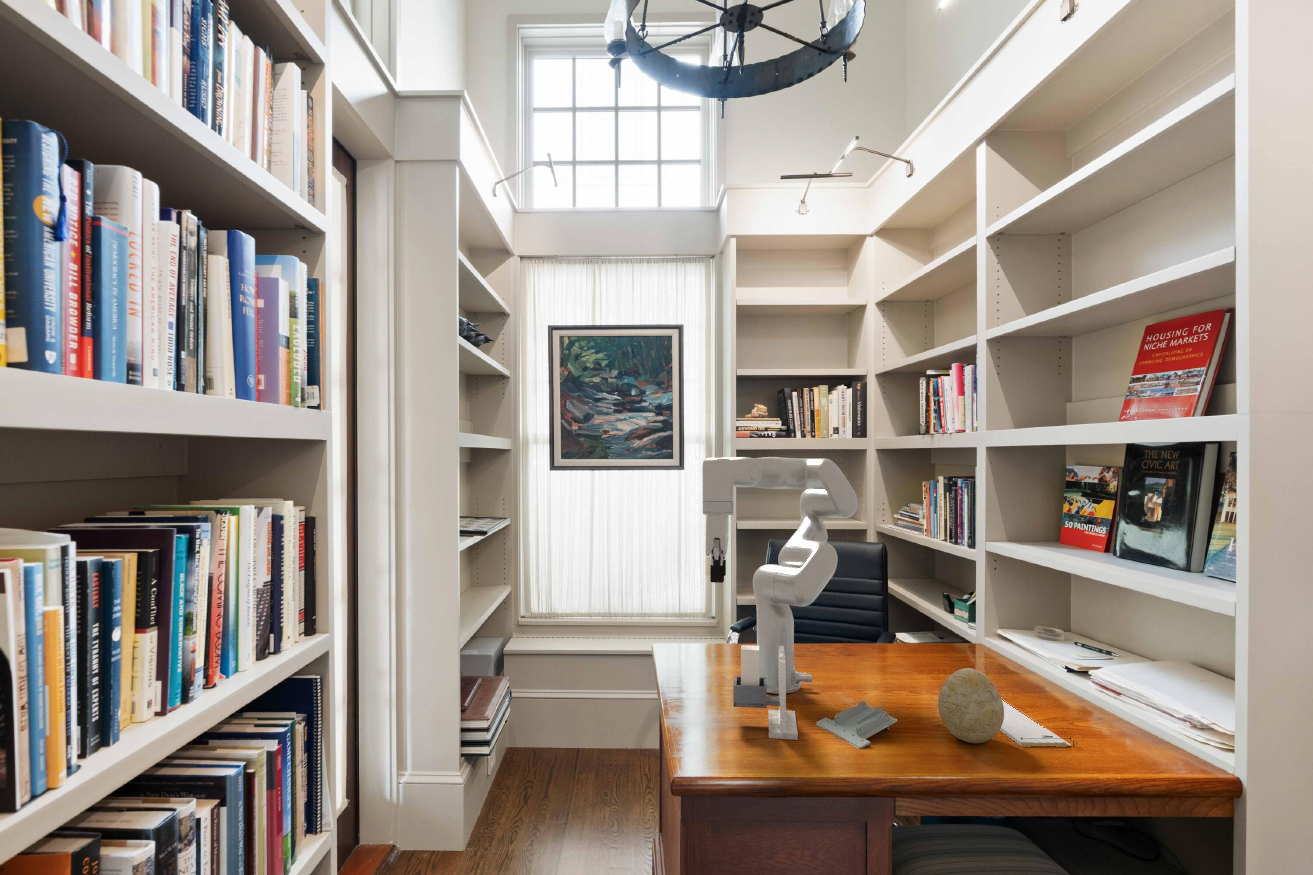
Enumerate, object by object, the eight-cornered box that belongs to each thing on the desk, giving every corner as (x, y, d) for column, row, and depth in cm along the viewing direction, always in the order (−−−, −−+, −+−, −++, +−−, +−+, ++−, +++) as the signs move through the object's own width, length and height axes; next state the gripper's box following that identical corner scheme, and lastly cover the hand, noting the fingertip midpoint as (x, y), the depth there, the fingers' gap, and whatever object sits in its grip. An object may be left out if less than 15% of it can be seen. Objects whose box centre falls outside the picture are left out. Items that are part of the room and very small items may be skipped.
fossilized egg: (1016, 743, 145) (1015, 670, 146) (983, 758, 138) (982, 681, 138) (959, 725, 155) (958, 657, 156) (926, 737, 148) (925, 666, 148)
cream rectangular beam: (759, 694, 157) (759, 645, 158) (759, 700, 153) (759, 650, 154) (741, 693, 158) (741, 644, 158) (740, 699, 154) (740, 649, 154)
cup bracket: (794, 715, 161) (794, 645, 161) (797, 739, 147) (797, 662, 148) (735, 712, 163) (735, 643, 163) (732, 735, 149) (732, 660, 150)
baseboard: (1003, 699, 174) (956, 699, 174) (1003, 687, 174) (955, 687, 174) (1079, 749, 143) (1021, 749, 143) (1079, 735, 143) (1020, 735, 143)
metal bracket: (859, 691, 161) (905, 713, 147) (865, 715, 161) (912, 738, 148) (809, 717, 156) (853, 742, 142) (816, 742, 156) (859, 769, 142)
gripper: (705, 506, 179) (705, 573, 179) (699, 510, 162) (700, 584, 161) (734, 506, 178) (734, 573, 177) (732, 510, 161) (732, 585, 160)
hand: (718, 578), depth 169 cm, fingers open, 9 cm apart
